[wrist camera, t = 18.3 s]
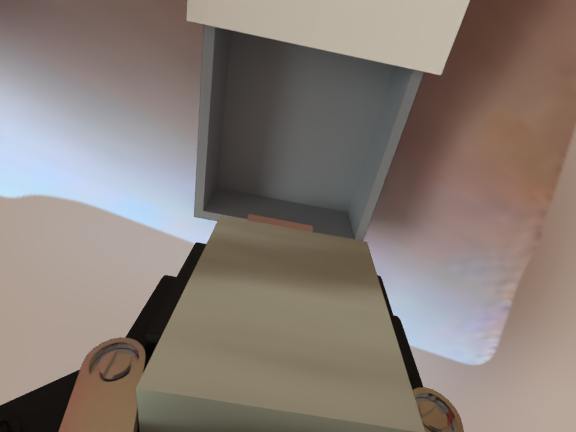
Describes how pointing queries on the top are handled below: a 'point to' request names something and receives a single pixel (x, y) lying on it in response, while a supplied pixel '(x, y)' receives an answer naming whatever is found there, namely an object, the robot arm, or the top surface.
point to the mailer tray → (296, 133)
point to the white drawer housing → (347, 26)
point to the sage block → (278, 341)
